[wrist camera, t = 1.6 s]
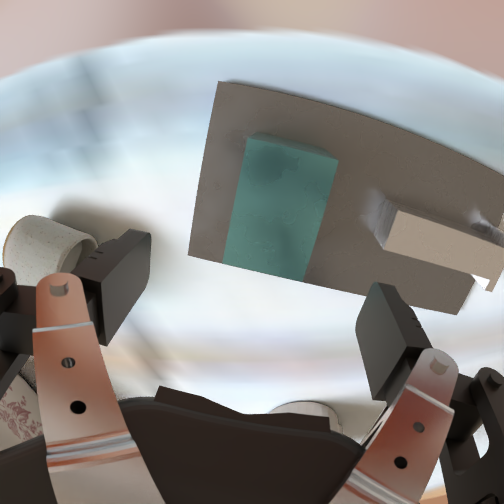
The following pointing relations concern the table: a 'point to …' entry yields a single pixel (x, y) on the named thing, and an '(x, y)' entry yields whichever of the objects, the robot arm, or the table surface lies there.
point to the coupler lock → (278, 205)
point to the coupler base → (364, 200)
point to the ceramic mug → (44, 249)
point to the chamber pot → (19, 414)
